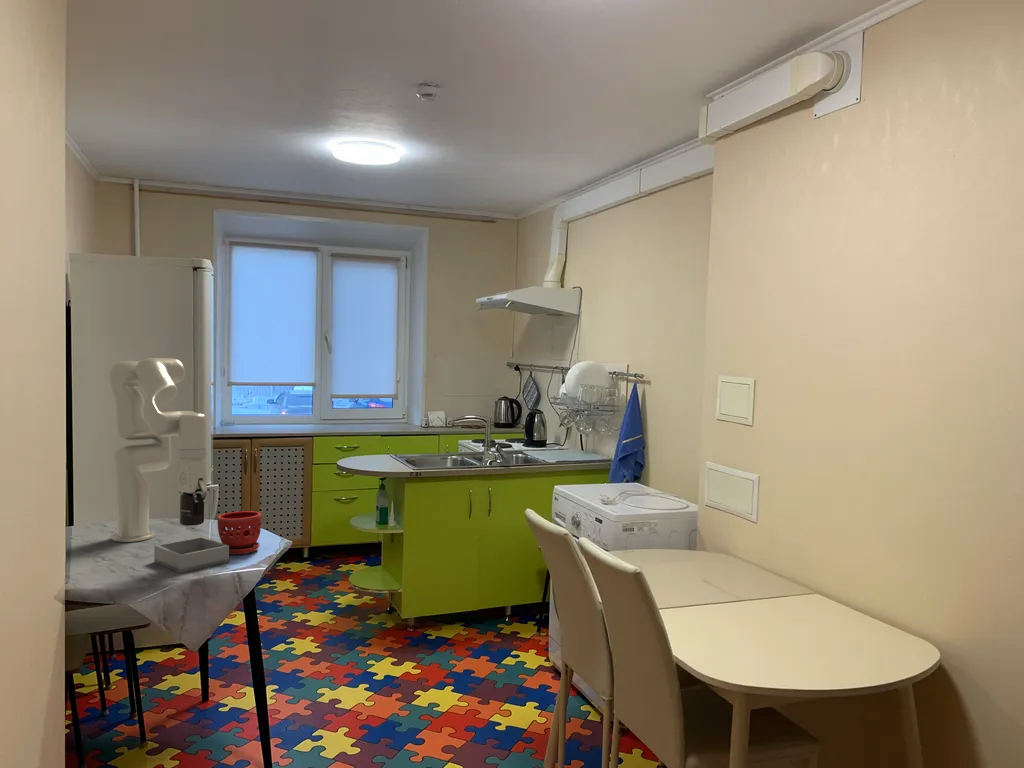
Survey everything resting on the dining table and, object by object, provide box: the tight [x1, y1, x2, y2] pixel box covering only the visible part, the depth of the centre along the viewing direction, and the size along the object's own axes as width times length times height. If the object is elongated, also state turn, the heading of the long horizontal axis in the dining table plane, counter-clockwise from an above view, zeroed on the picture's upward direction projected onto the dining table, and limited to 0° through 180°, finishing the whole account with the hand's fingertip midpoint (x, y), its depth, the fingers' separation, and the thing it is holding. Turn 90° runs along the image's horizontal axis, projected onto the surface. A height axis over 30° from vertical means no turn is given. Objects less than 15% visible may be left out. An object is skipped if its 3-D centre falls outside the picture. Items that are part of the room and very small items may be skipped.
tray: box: [153, 536, 230, 574], centre depth 213 cm, size 16×15×5 cm
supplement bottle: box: [179, 490, 206, 527], centre depth 212 cm, size 7×7×12 cm
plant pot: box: [217, 510, 262, 555], centre depth 225 cm, size 13×13×12 cm
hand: (192, 512), depth 212 cm, fingers closed on supplement bottle, 6 cm apart
